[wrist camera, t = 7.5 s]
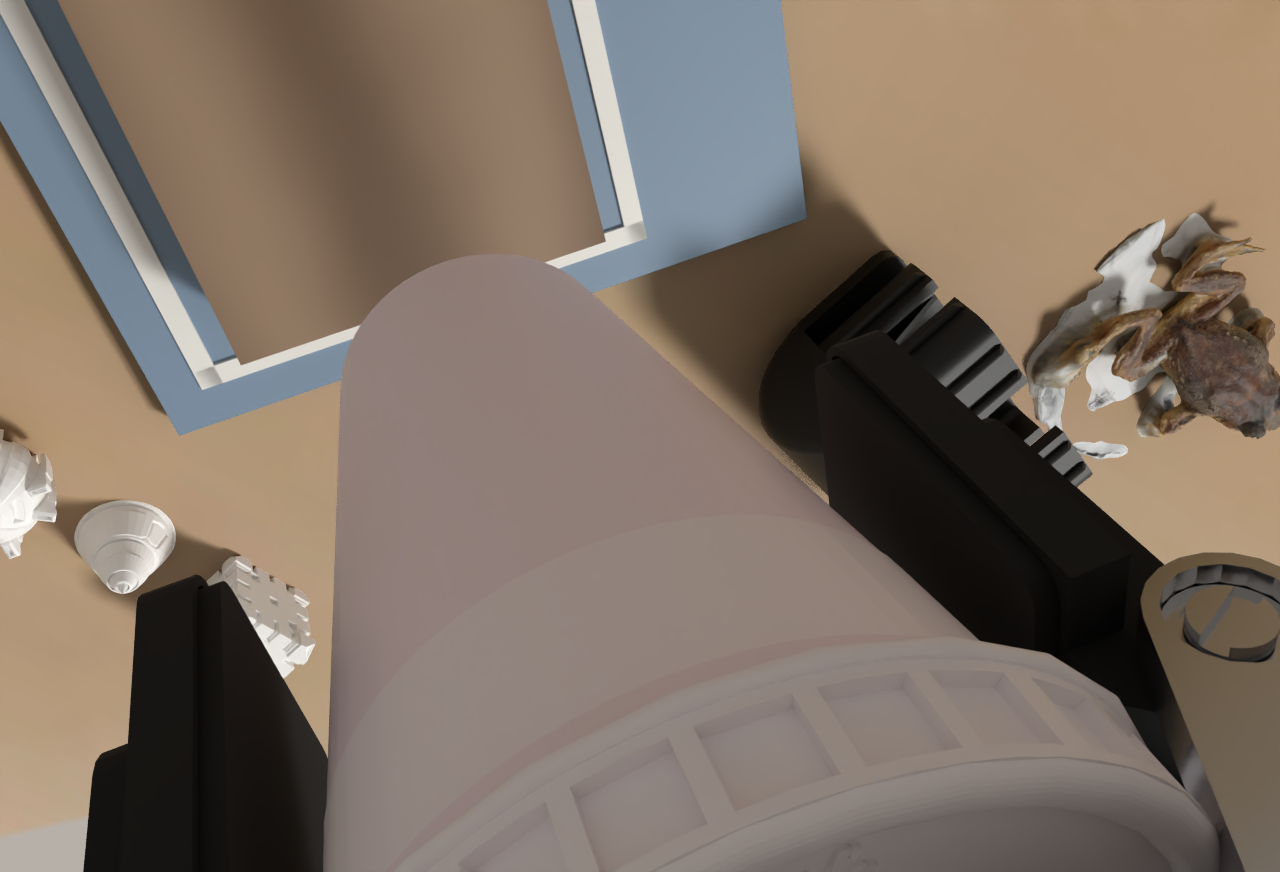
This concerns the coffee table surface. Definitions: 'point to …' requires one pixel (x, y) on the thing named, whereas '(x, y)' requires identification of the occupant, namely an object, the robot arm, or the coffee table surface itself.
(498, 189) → the plinth
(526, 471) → the smoothie
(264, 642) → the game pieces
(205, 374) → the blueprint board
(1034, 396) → the frog figurine
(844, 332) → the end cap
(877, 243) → the coffee table surface
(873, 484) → the robot arm
